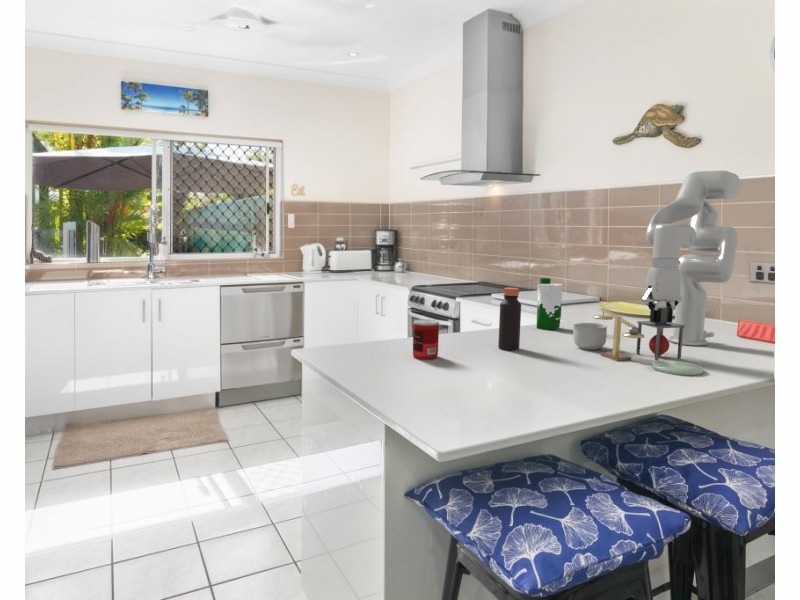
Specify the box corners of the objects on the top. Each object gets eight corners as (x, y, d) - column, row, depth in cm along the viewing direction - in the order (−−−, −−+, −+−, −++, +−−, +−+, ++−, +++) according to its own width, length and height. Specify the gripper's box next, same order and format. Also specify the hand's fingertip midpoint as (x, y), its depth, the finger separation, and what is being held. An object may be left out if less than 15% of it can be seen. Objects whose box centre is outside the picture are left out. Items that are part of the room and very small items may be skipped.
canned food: (440, 355, 175) (441, 320, 174) (433, 360, 167) (434, 324, 166) (417, 353, 177) (418, 318, 176) (409, 358, 170) (410, 322, 169)
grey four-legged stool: (660, 352, 185) (663, 305, 183) (682, 359, 176) (686, 309, 174) (635, 353, 182) (638, 305, 180) (656, 360, 173) (659, 310, 171)
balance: (587, 351, 185) (590, 307, 183) (603, 350, 187) (606, 306, 185) (629, 366, 165) (632, 316, 163) (646, 365, 167) (650, 316, 165)
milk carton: (540, 325, 233) (543, 277, 231) (562, 328, 229) (565, 278, 226) (533, 328, 226) (535, 278, 224) (555, 331, 221) (558, 280, 219)
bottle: (498, 346, 191) (501, 287, 188) (519, 347, 189) (521, 287, 187) (497, 350, 184) (500, 289, 181) (519, 351, 183) (522, 289, 180)
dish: (679, 363, 170) (679, 359, 170) (713, 374, 157) (714, 370, 157) (642, 365, 166) (642, 361, 166) (675, 376, 154) (675, 372, 154)
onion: (659, 359, 175) (661, 333, 174) (644, 355, 180) (645, 330, 179) (672, 357, 178) (674, 332, 177) (656, 353, 183) (658, 329, 182)
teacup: (608, 352, 184) (609, 328, 182) (573, 350, 186) (574, 326, 185) (601, 344, 197) (603, 321, 196) (569, 342, 199) (570, 320, 198)
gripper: (678, 263, 181) (674, 319, 183) (634, 263, 177) (630, 321, 179) (696, 264, 174) (691, 323, 176) (650, 264, 169) (646, 325, 172)
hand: (660, 321), depth 178 cm, fingers open, 4 cm apart
